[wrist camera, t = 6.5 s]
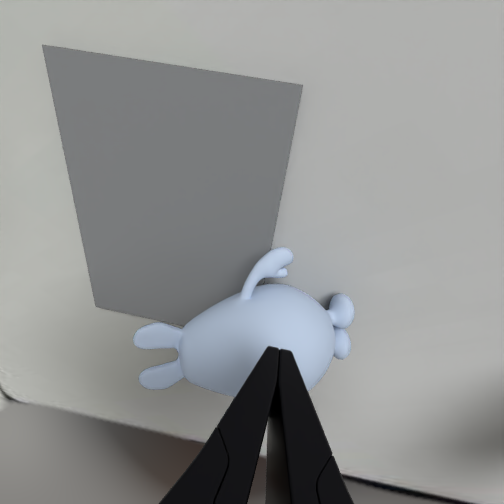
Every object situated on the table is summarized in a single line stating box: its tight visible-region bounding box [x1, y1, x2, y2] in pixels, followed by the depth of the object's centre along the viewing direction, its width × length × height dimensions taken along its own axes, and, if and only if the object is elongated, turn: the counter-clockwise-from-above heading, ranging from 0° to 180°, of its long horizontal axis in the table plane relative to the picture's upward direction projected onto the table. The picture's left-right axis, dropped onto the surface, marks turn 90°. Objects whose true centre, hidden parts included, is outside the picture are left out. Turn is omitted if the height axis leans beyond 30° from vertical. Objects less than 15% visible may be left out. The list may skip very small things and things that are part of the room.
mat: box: [42, 45, 303, 326], centre depth 17 cm, size 12×16×1 cm
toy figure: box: [133, 247, 354, 397], centre depth 16 cm, size 11×6×12 cm
